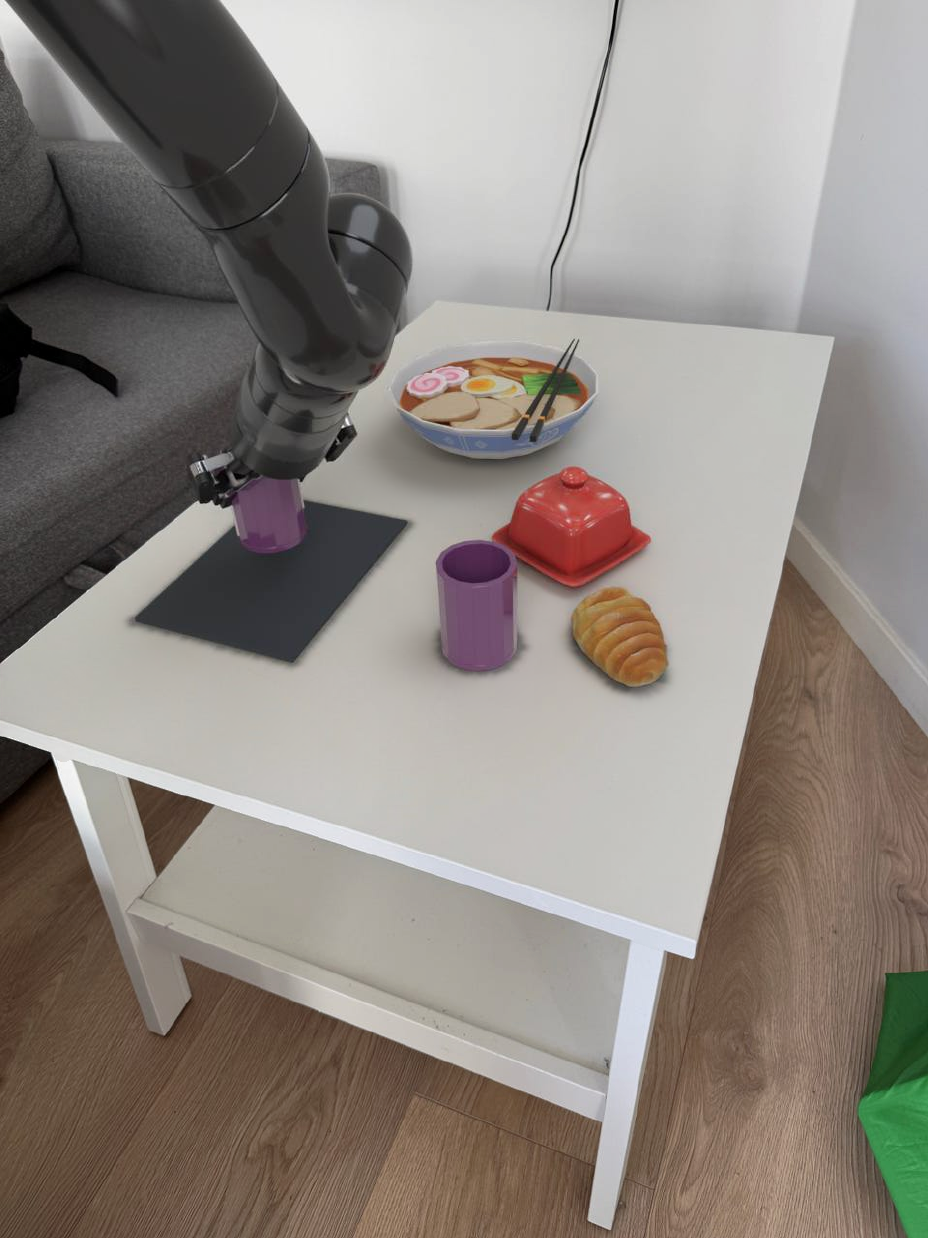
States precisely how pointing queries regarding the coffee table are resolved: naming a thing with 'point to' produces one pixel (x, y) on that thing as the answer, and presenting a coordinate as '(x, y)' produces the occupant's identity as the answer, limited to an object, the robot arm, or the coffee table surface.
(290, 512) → the plum cup front
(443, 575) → the plum cup side
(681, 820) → the coffee table surface
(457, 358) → the ramen bowl
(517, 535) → the butter dish
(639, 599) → the pastry
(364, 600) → the coffee table surface
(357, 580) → the mat
